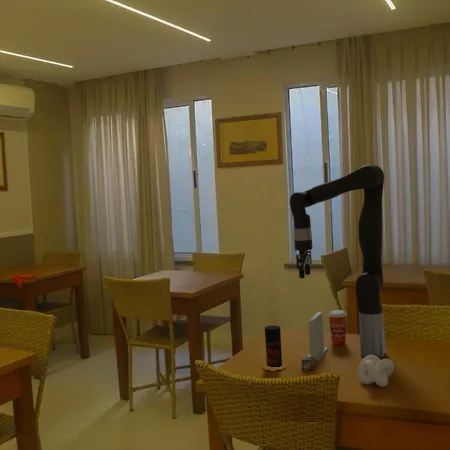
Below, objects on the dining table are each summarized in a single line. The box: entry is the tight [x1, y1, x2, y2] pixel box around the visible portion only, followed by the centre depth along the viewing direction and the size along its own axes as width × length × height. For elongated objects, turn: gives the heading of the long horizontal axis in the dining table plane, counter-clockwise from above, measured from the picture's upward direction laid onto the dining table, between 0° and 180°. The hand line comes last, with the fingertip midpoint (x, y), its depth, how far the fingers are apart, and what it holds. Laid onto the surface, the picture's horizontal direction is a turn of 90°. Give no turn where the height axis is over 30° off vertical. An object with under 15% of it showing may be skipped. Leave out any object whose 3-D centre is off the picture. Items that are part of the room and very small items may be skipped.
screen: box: [306, 311, 329, 362], centre depth 228 cm, size 5×15×16 cm, turn 156°
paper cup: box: [327, 309, 348, 347], centre depth 241 cm, size 8×8×14 cm
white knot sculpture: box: [357, 355, 395, 388], centre depth 194 cm, size 11×12×9 cm
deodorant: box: [264, 324, 283, 367], centre depth 216 cm, size 6×6×15 cm
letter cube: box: [301, 356, 316, 371], centre depth 213 cm, size 4×4×4 cm
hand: (305, 276), depth 240 cm, fingers open, 8 cm apart
